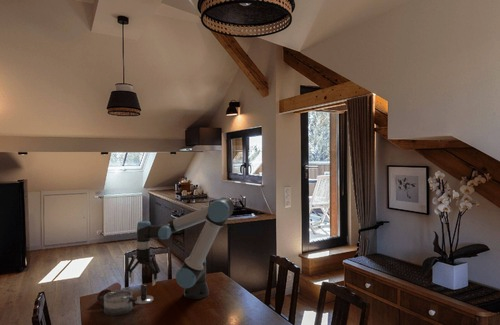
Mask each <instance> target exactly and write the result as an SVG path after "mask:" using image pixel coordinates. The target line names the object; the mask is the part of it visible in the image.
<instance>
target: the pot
mask: <svg viewBox="0 0 500 325" xmlns="http://www.w3.org/2000/svg"><path fill="white" fill-rule="evenodd" d="M99 300H104V306H103V312H104V313H103V314H105V315H107V316H113V317H114V316H116V317H117V316H122V315H125V314H127V313H130V312H131V311H132V310H133V303H134V302H136V301H137V298H136V297H133V291H132V290H129V289H121V290H116V291H112V292H109V293H107V294H106V295H104V296H101V297H99Z"/></svg>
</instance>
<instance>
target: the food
mask: <svg viewBox="0 0 500 325" xmlns="http://www.w3.org/2000/svg"><path fill="white" fill-rule="evenodd" d="M116 290H122V285H121V283H119V282H115V283H112V284H111V285H109V286H107V287H106V288H105V289H103V290H100V291H99V293H98V295H97V296H96V299H97V303H98V304H99V305H101V306H103V307H104V300H99V297H101V296H104V295H106V294H107V293H109V292H112V291H116Z"/></svg>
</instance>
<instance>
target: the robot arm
mask: <svg viewBox="0 0 500 325" xmlns="http://www.w3.org/2000/svg"><path fill="white" fill-rule="evenodd" d="M234 210H235V204H234V202H233V201H232V199H230V198H228V197H220V198H218V199H215V200H214V201H212V202H211V203H210V204H209V205H208V206H206V207H203V208H200V209H198V210H195V211H193V212H189V213H188V214H185V215H182V216H180V217H177V218H174V219H171V220H168V221H166V222H164V223H162V224H159V225H152V224H151V222H150V220H149V221H148V220H141V221H138V222H137V223H136V255H135V254H133V255H131V260H130V261H129V264H128V265H127V267H126V269H125V271H126V272H128V274H129V275H128V276H129V278H130V282H129V283H130V284H131V285H132V284H133V283H135V271H134V270H135V269H136V268H137V267H138V265H139V264H140V265H146V266H147V267H148V268H149V269H150V271H151V272H152V279H151V280H152V281H151V282H152V284H151V285H152V286H155V285H156V283H157V282H156V280H157V279H158V274H159V273H160V272H161V270H160V267H159V265H158V263H157V260H156V256H155V255H154V256H153V255H152V256H151V248H150V247H151V239H154V240H158V239H159V240H168V239H170V237H171V235H172V234H173V233H176V232H179V231H181V230H184V229H187V228H190V227H192V226H196V225H198V224H201V223H203V222H205V223H204V226H203V227H202V230H201V232H200V234H199V235H198V238H197V240H196V242H195V244H194V245H193V248H192V251H191V252H190V255H189V256H188V257H186V258H184V261H183V263H182V265H181V267H180V269H178V270H177V272H176V274H175V281H176V283H177V284H178V286H180V287H181V288H183V289H184V291H183V297H184V298H186V299H188V300H201V299H204V298H207V297H208V296H209V295H210V290H209V287H208V283H207V259H206V257H207V256H208V254H209V251H210V250H211V247H212V245H213V244H214V241H215V239H216V237H217V235H218V233H219V231H220V230H221V228H223V227H225V225H226V223H227V221H228V219H229V217H230V216H232V214H233V213H234ZM135 260H136V262H135ZM134 262H135V263H134ZM133 264H134V265H133Z"/></svg>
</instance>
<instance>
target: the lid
mask: <svg viewBox="0 0 500 325" xmlns="http://www.w3.org/2000/svg"><path fill="white" fill-rule="evenodd" d="M147 286H148V285H147V284H141V285H140V296H139V295H138V296H136V297H135V298H137V301H136V302H133V303H134V304H135V305H146V304H147V305H148V304H150V303H152V302H153V301H154V296H153V295H148V294H147V293H148V292H147Z"/></svg>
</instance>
